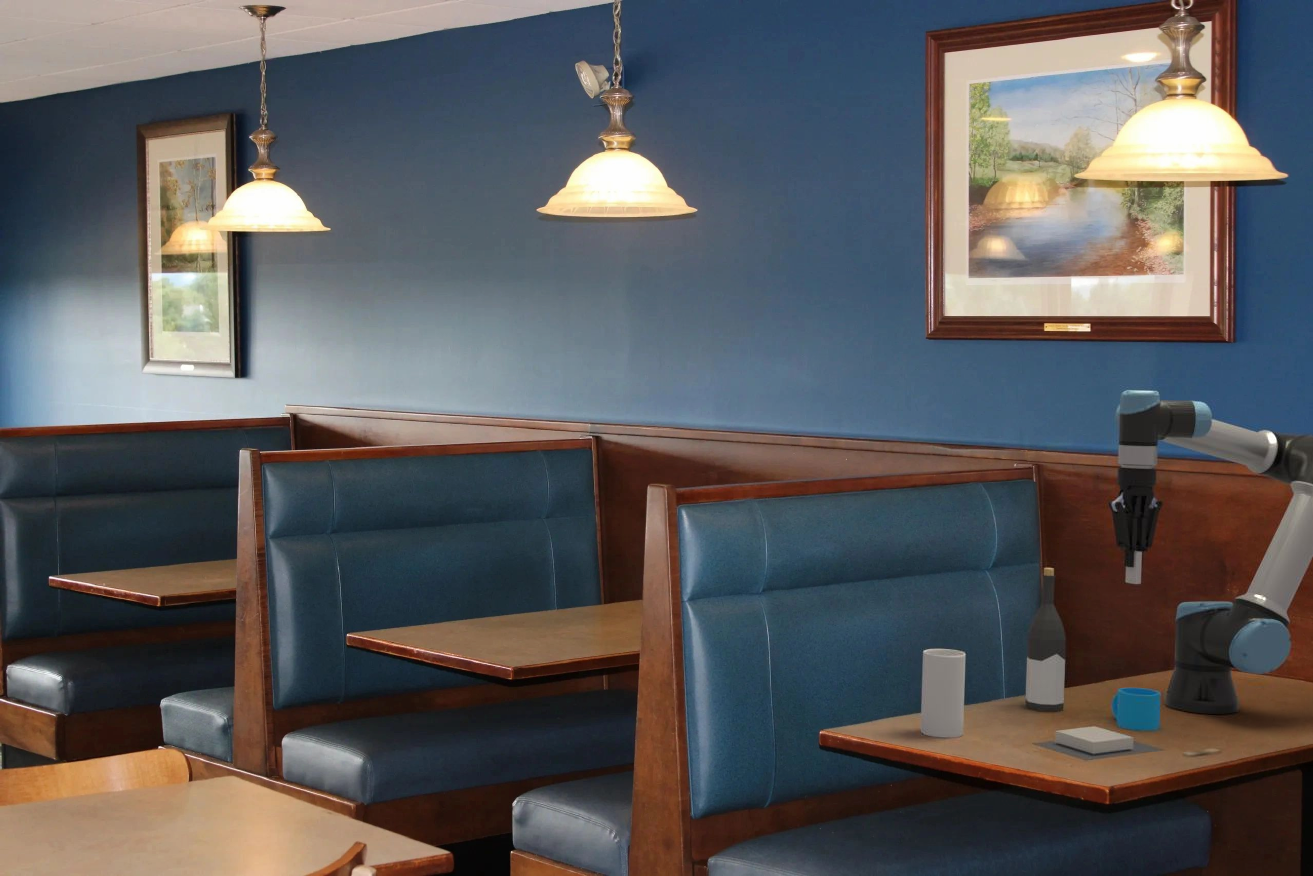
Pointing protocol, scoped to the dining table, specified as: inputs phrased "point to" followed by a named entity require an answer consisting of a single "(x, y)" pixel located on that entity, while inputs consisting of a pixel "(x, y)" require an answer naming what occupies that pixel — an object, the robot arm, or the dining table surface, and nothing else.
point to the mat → (1136, 749)
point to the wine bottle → (1046, 654)
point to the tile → (1094, 740)
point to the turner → (1201, 752)
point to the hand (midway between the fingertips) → (1133, 583)
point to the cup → (943, 693)
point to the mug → (1137, 708)
